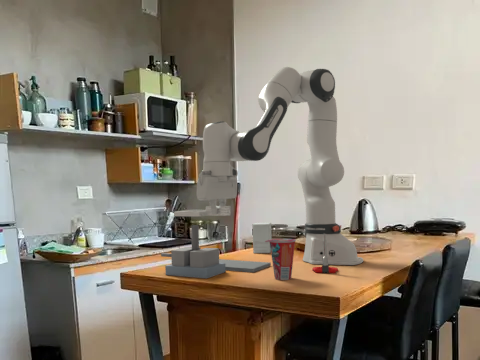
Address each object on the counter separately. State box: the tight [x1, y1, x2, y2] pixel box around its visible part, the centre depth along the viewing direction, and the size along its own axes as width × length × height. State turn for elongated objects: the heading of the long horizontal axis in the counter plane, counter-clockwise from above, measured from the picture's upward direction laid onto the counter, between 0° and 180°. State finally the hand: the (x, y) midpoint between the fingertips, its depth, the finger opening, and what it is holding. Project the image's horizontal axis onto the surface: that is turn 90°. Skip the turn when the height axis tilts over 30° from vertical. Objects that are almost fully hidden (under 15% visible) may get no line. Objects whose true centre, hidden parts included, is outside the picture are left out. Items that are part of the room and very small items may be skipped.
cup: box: [265, 238, 297, 281], centre depth 147 cm, size 9×8×12 cm
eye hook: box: [173, 205, 232, 217], centre depth 157 cm, size 18×10×3 cm, turn 62°
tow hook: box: [312, 234, 339, 274], centre depth 160 cm, size 8×13×9 cm
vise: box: [160, 224, 226, 279], centre depth 160 cm, size 22×12×16 cm, turn 62°
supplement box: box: [251, 222, 273, 254], centre depth 207 cm, size 7×7×13 cm
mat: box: [219, 258, 272, 273], centre depth 170 cm, size 22×14×1 cm, turn 62°
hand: (218, 213), depth 155 cm, fingers closed on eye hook, 2 cm apart
